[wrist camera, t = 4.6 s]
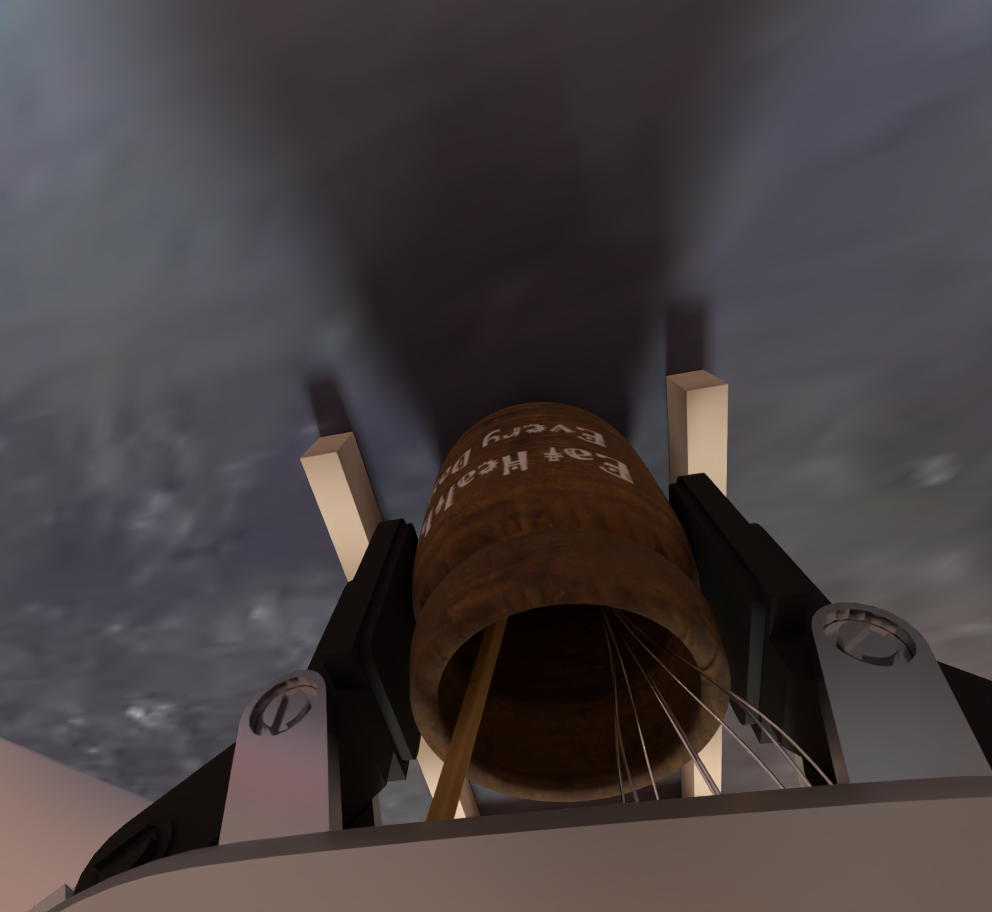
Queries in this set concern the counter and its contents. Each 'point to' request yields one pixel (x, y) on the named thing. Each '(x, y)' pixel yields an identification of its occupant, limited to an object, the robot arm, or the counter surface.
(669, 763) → the utensil holder
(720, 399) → the guide channel
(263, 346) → the counter surface
